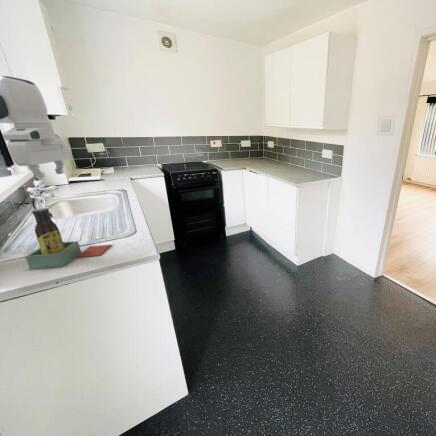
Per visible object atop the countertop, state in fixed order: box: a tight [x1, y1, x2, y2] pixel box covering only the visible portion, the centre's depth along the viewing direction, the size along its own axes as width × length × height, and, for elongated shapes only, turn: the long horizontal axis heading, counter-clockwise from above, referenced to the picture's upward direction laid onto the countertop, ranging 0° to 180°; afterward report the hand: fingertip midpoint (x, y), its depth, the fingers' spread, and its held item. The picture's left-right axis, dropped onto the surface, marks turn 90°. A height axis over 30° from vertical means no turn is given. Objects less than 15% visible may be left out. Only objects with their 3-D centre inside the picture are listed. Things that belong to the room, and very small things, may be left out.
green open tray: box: [24, 240, 82, 270], centre depth 91 cm, size 10×11×5 cm
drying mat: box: [76, 244, 112, 259], centre depth 98 cm, size 8×9×1 cm
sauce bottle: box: [31, 207, 65, 255], centre depth 88 cm, size 6×6×20 cm
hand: (51, 175), depth 84 cm, fingers open, 8 cm apart
